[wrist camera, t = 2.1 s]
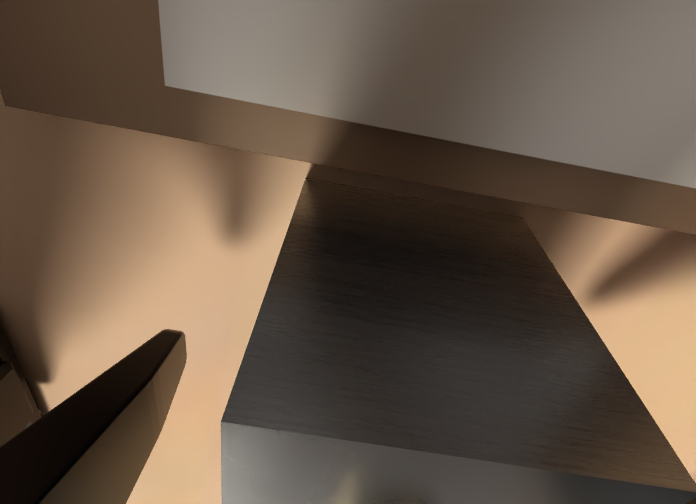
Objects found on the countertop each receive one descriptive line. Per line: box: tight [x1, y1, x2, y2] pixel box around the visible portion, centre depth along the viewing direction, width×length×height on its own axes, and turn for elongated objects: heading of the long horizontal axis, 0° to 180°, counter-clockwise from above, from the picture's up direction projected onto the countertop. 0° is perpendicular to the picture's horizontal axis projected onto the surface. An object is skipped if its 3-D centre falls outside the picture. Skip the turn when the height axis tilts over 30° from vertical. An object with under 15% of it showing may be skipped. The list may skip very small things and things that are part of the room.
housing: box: [221, 178, 696, 504], centre depth 8 cm, size 5×7×7 cm
